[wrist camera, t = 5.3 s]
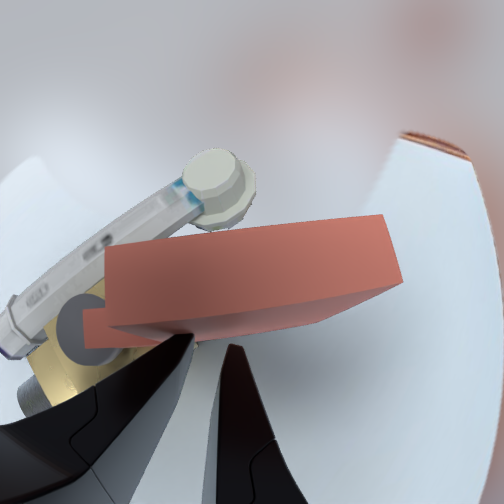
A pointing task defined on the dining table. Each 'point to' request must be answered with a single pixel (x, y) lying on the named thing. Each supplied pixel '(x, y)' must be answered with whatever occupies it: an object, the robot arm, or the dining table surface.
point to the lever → (228, 284)
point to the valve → (66, 370)
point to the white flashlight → (131, 241)
